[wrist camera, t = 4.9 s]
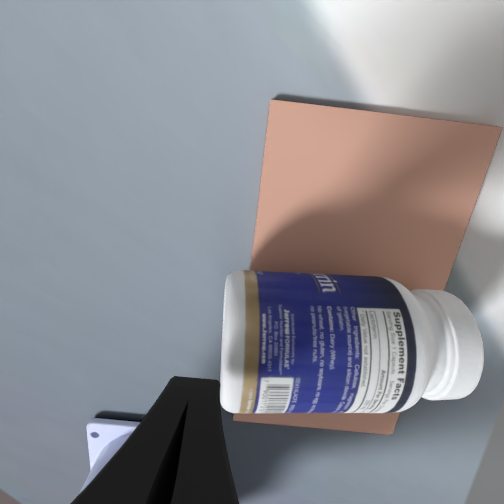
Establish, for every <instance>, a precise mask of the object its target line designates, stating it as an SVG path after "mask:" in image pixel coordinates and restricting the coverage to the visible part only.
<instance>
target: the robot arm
mask: <svg viewBox="0 0 504 504" xmlns="http://www.w3.org/2000/svg"><path fill="white" fill-rule="evenodd" d="M220 385H221V384H220V383H219V381H218V380H212V379H200V378H189V377H178V376H174V377H173V378H171V379H170V381H169V382H168V384H167V386H166V387H165V389H164V390H163V392H162V393H161V395H160V396H159V398H158V399H157V400H156V402H155V403H154V405H153V406H152V407H151V409H150V410H149V412H148V413H147V414H146V416H145V417H144V418H143V420H142V421H141V422H133V421H122V420H111V419H100V418H93V419H91V420H90V421H89V423H88V424H87V438H88V447H89V457H90V467H91V471H90V473H89V475H88V477H87V479H86V481H85V483H84V485H83V487H82V489H81V491H80V493H79V495H78V496H77V497H76V498H75V499H74V500H73V502H72V503H71V504H239V501H238V497H237V494H236V490H235V485H234V481H233V477H232V473H231V469H230V464H229V460H228V455H227V450H226V444H225V439H224V434H223V427H222V419H221V410H220Z"/></svg>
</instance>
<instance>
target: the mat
mask: <svg viewBox="0 0 504 504" xmlns="http://www.w3.org/2000/svg"><path fill="white" fill-rule="evenodd" d="M502 128H503V127H497V126H488V125H480V124H472V123H463V122H455V121H447V120H438V119H430V118H422V117H413V116H405V115H397V114H388V113H380V112H371V111H363V110H355V109H346V108H338V107H330V106H321V105H313V104H305V103H296V102H288V101H280V100H270V107H269V115H268V124H267V132H266V141H265V150H264V158H263V167H262V175H261V184H260V192H259V201H258V210H257V218H256V227H255V235H254V244H253V252H252V261H251V270H250V271H267V272H289V273H309V274H334V275H356V276H377V277H385V278H389V279H392V280H394V281H397V282H398V283H400V284H402V285H403V286H404V287H406V288H407V289H408V290H409V291H411V290H414V289H429V290H441V291H444V289H445V286H446V284H447V281H448V278H449V275H450V272H451V270H452V267H453V264H454V261H455V259H456V256H457V253H458V250H459V247H460V245H461V242H462V239H463V236H464V234H465V231H466V228H467V225H468V222H469V220H470V217H471V214H472V211H473V209H474V206H475V203H476V200H477V197H478V195H479V192H480V189H481V186H482V184H483V181H484V178H485V175H486V172H487V170H488V167H489V164H490V161H491V158H492V156H493V153H494V150H495V147H496V145H497V142H498V139H499V136H500V133H501V131H502ZM399 414H400V412H394V413H234V415H233V421H243V422H254V423H265V424H276V425H287V426H298V427H309V428H321V429H332V430H343V431H354V432H365V433H376V434H387V435H392V434H393V431H394V428H395V425H396V423H397V420H398V417H399Z"/></svg>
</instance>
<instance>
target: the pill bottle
mask: <svg viewBox="0 0 504 504" xmlns="http://www.w3.org/2000/svg"><path fill="white" fill-rule="evenodd" d="M483 364H484V349H483V342H482V337H481V333H480V330H479V328H478V325H477V323H476V320H475V318H474V316H473V315H472V313H471V312H470V310H469V309H468V307H467V306H466V305H465V304H464V303H463V302H462V301H461V300H460V299H459V298H457V297H456V296H454V295H453V294H451V293H448V292H446V291H441V290H429V289H414V290H411V291H409V290H408V289H407V288H406V287H404V286H403V285H402V284H400V283H398V282H397V281H394V280H392V279H389V278H385V277H377V276H356V275H334V274H309V273H289V272H267V271H246V270H236V271H233V272H231V273H230V274H229V275H228V276H227V279H226V284H225V294H224V311H223V332H222V352H221V374H220V384H221V385H220V402H221V405H222V407H223V408H224V409H225V410H226V411H228V412H231V413H394V412H401V411H404V410H406V409H408V408H410V407H412V406H413V405H415V404H416V403H417V402H418V400H419V399H420V398H421V397H423V398H425V399H428V400H451V399H460V398H463V397H466V396H467V395H469V394H470V393H471V392H472V391H473V390H474V389H475V388H476V386H477V384H478V382H479V380H480V377H481V374H482V370H483Z"/></svg>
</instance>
